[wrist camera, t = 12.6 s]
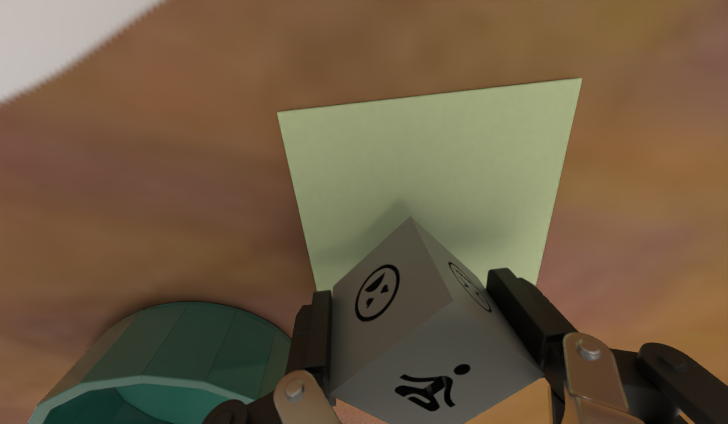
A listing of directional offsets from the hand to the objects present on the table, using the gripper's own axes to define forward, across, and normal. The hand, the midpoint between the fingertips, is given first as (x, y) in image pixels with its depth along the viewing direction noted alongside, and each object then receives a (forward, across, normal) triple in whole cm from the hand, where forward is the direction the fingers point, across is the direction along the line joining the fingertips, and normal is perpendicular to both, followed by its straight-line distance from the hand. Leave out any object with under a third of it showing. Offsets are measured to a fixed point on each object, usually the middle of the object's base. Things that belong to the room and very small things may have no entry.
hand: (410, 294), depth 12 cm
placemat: (+4, -2, -1) cm, 5 cm away
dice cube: (+1, 0, 0) cm, 1 cm away
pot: (+4, +14, +9) cm, 17 cm away
